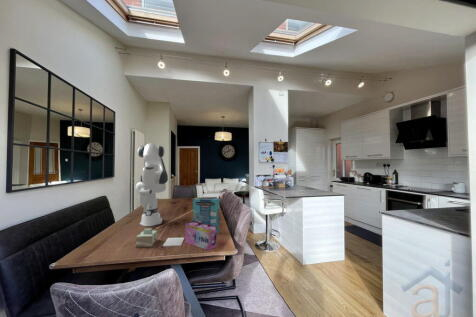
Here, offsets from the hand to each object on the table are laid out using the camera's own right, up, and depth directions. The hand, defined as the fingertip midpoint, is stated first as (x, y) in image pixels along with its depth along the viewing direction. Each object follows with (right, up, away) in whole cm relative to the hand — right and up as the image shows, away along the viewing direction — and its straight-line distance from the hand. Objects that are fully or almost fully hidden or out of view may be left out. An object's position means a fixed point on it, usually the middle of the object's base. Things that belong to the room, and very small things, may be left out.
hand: (148, 210), depth 134 cm
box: (0, -23, -1) cm, 23 cm away
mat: (+17, -23, +2) cm, 29 cm away
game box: (+37, -24, +22) cm, 49 cm away
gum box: (+37, -23, -2) cm, 44 cm away
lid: (0, -17, 0) cm, 17 cm away
